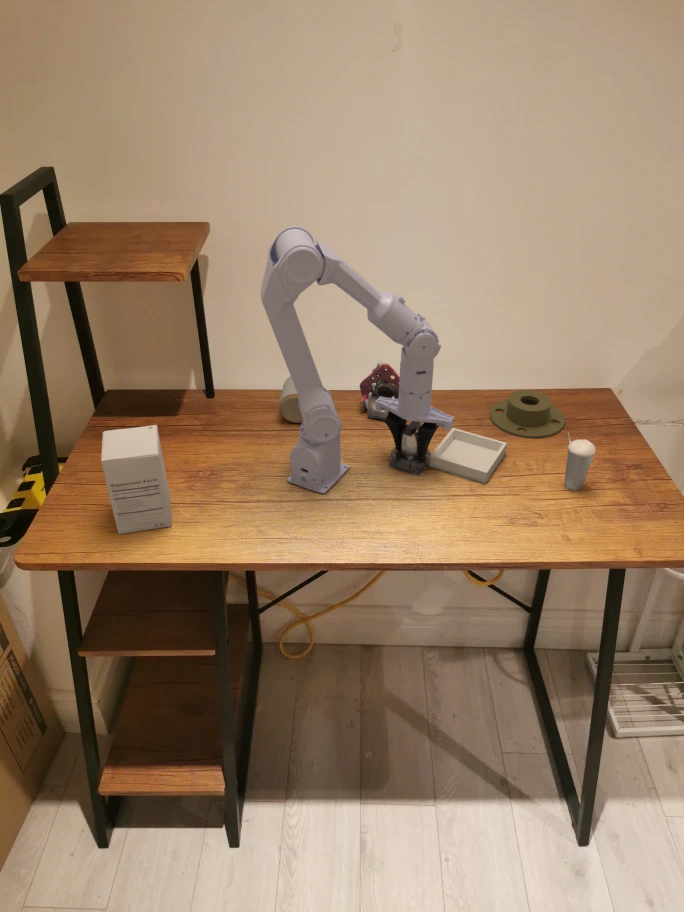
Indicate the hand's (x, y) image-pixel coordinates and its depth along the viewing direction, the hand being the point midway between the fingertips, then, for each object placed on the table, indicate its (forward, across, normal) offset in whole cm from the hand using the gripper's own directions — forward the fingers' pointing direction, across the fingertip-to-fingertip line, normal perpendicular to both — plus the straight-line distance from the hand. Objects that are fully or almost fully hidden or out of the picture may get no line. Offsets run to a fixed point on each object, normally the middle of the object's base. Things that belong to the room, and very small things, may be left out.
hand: (411, 451), depth 133 cm
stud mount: (+3, 0, 0) cm, 3 cm away
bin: (+3, -9, -6) cm, 11 cm away
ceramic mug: (+3, +26, -5) cm, 27 cm away
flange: (+3, -14, -26) cm, 30 cm away
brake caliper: (+3, +13, -15) cm, 20 cm away
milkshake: (+3, -28, -8) cm, 29 cm away
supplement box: (+3, +33, +36) cm, 49 cm away
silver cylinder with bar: (+2, 0, 0) cm, 2 cm away
